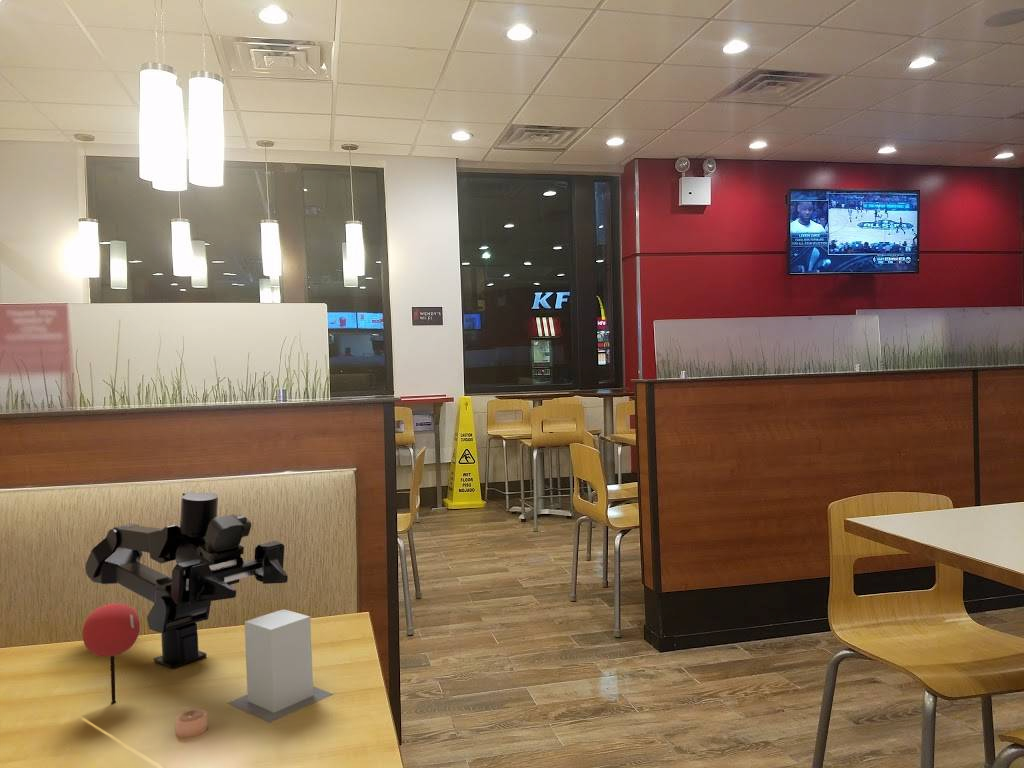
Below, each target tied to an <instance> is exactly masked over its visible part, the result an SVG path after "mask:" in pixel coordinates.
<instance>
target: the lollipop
mask: <svg viewBox="0 0 1024 768" xmlns="http://www.w3.org/2000/svg"><path fill="white" fill-rule="evenodd" d="M138 615H139V614H137V612H136V611H135V609H134V608H132V607H131V606H130V605H127V604H125V603H117V602H115V603H108V604H104V605H102V606H100V607H97V608H95V609H94V610H92V612H91V613H90V614H89V615H88V617H86V619H85V621H84V624H83V627H82V642H83V644H84V646H85V647H86V649H87V650H88V651H89V652H90V653H91V654H92V655H95V656H98V657H104V658H105V657H108V658H110V659H109V661H110V684H111V685H110V688H111V690H110V691H111V692H110V693H111V702H110V703H111V704H115V703H117V701H116V671H115V665H116V664H115V656H118V655H120V654H123V653H125V652H126V651H129V649H130V648H132V647H133V645H134V644H135V643H136V641H137V639H138V637H139V634H140V627H141V626H140V619H139V616H138Z"/></svg>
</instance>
